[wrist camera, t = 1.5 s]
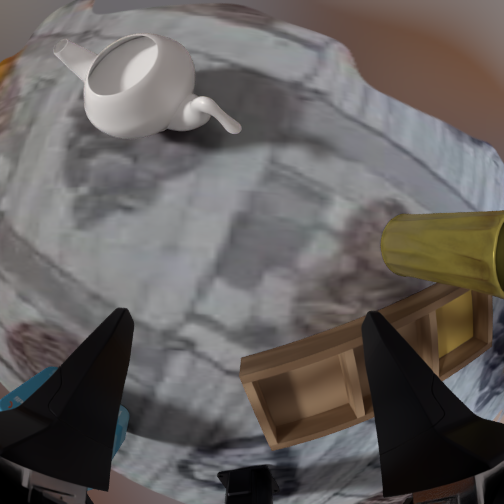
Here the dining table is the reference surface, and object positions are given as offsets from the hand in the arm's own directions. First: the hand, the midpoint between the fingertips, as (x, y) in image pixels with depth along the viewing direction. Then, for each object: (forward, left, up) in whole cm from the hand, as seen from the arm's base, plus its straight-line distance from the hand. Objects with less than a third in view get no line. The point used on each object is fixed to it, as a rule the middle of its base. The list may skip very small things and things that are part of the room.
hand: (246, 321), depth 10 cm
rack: (-13, -10, -15) cm, 22 cm away
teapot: (+17, +4, -15) cm, 23 cm away
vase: (-3, -15, -15) cm, 21 cm away
